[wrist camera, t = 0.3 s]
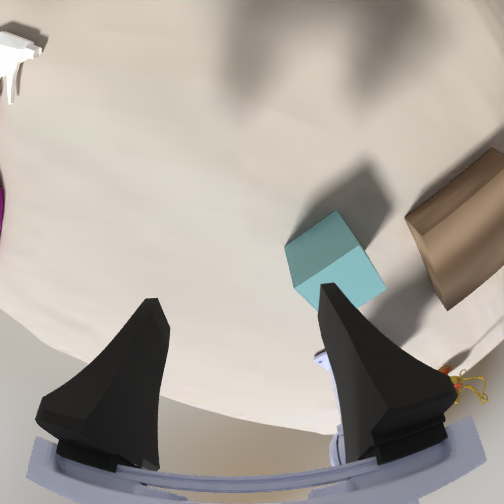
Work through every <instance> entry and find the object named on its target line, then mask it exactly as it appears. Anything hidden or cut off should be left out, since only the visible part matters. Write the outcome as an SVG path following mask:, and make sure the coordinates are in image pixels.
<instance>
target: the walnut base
mask: <svg viewBox="0 0 504 504" xmlns="http://www.w3.org/2000/svg"><path fill="white" fill-rule="evenodd" d="M405 220H406V222H407V224H408V226H409V229H410V231H411V233H412V235H413V237H414V240H415V242H416V244H417V247H418V249H419V251H420V254H421V256H422V259H423V261H424V264H425V266H426V269H427V271H428V274H429V277H430V279H431V282H432V285H433V288H434V291H435V293H436V295H437V296H438V298H439V299H440V301H441V302H442V304H443V305H444V307H445V308H446V310H447V311H449V310H450V309H451V308H453V307H454V306H455V305H457V304H458V303H459V302H461V301H462V300H463V299H464V298H466V297H467V296H468V295H470V294H471V293H472V292H473V291H474V290H476V289H477V288H478V287H479V286H481V285H482V284H483V283H484V282H485V281H486V280H488V279H489V278H490V277H491V276H492V275H493V274H494V273H496V272H497V271H498V270H499V269H500V268H501V267H502V266H503V265H504V154H503V153H501V152H499V151H497V150H495V149H493V148H491V149H490V150H489V151H488V152H486V153H485V154H484V155H483V156H482V157H481V158H479V159H478V160H477V161H476V162H475V163H474V164H472V165H471V166H470V167H469V168H468V169H466V170H465V171H464V172H463V173H461V174H460V175H459V176H458V177H456V178H455V179H454V180H453V181H452V182H450V183H449V184H448V185H447V186H445V187H444V188H443V189H441V190H440V191H439V192H438V193H436V194H435V195H434V196H432V197H431V198H430V199H429V200H427V201H426V202H425V203H423V204H422V205H421V206H419V207H418V208H417V209H415V210H414V211H413V212H411V213H410V214H409V215H407V216H406V217H405Z"/></svg>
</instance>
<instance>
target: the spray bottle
mask: <svg viewBox="0 0 504 504" xmlns="http://www.w3.org/2000/svg"><path fill="white" fill-rule="evenodd" d="M41 52H42V48H41V47H38V46H36V45H34V42H33V41H30V40H28V39H25V38H23V37H20V36H17V35H14V34H12V33H9V32H0V80H1V77H3V76H5V75H6V74H7V94H8V102H9V104H12V103H14V94H15V85H16V77H17V73H18V69H19V66H20V64H21V63H22V62H24V61H26V60H27V59H28V58H31V59H37V58H38V57H39V56H40V55H41ZM2 213H3V194H2V190H1V186H0V233H1V224H2Z"/></svg>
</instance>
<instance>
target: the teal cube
mask: <svg viewBox="0 0 504 504" xmlns="http://www.w3.org/2000/svg"><path fill="white" fill-rule="evenodd" d="M284 248H285V252H286V257H287V261H288V265H289V269H290V274H291V278H292V282H293V287H294V289H295V290H296V291H297V292H298V293H299V294H300V295H301V296H302V297H303V298H304V299H305V300H306V301H308V302H309V303H310V304H311V305H312V306H313V307H314V308H315V309H316V310H317V311H318V307H319V296H320V284H324V283H333V282H334V283H335V284H336V285H337V286H338V287H339V288H340V290H341V291H342V292H343V293H344V294H345V296H346V297H347V298H348V299H349V300H350V301H351V303H352V304H353V305H354V306H355V307H356V308H358V307H360V306H362V305H363V304H365V303H366V302H368V301H369V300H371V299H373V298H374V297H376V296H377V295H379V294H380V293H382V292H383V291H385V290H386V289H387V288H386V286H385V284H384V282H383V281H382V279H381V277H380V276H379V274H378V272H377V270H376V269H375V267H374V265H373V264H372V262H371V260H370V259H369V257H368V255H367V254H366V252H365V251H364V249H363V248H362V246H361V245H360V243H359V242H358V240H357V239H356V237H355V236H354V234H353V233H352V231H351V230H350V228H349V227H348V225H347V224H346V223H345V221H344V220H343V218H342V217H341V215H340V214H339V213H338V211H337V210H335V211H334V212H332V213H331V214H330V215H328V216H327V217H325V218H324V219H323V220H321V221H320V222H318V223H317V224H316V225H314V226H313V227H311V228H310V229H308V230H307V231H306V232H304V233H303V234H301V235H300V236H299V237H297V238H296V239H294V240H293V241H292V242H290V243H289V244H287V245H286V246H284Z"/></svg>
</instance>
